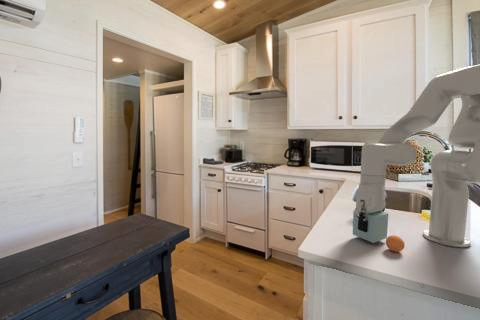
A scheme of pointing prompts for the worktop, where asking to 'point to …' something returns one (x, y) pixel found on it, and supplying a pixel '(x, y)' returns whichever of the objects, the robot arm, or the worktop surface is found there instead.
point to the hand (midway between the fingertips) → (370, 228)
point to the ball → (395, 243)
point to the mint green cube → (372, 226)
